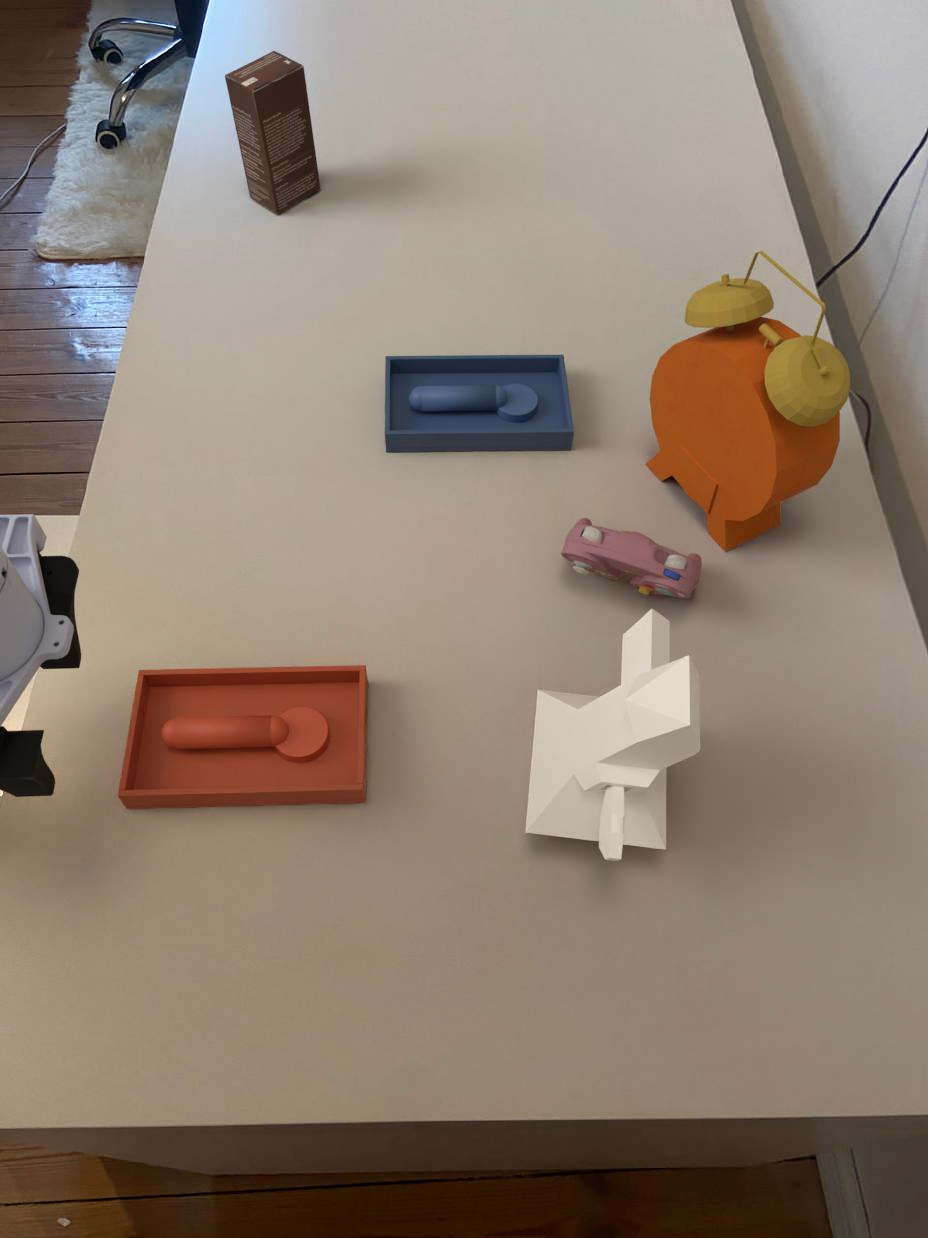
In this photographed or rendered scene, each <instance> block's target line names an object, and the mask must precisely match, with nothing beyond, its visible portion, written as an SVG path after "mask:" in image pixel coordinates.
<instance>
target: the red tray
mask: <svg viewBox="0 0 928 1238" xmlns="http://www.w3.org/2000/svg"><path fill="white" fill-rule="evenodd" d="M367 672H368V671H367V665H366V664H360V665H359V664H358V665H353V664H352V665H313V666H311V665H309V666H307V665H306V666H305V665H304V666H264V667H263V666H262V667H261V666H260V667H258V666H257V667H218V668H217V667H216V668H211V667H210V668H171V669H170V668H168V669H166V668H163V669H162V668H161V669H138V672H137V678H136V682H135V683H136V685H135V690H134V695H133V702H132V708H131V714H130V720H129V726H128V731H127V737H126V744H125V750H124V756H123V760H122V767H121V768H122V769H121V772H120V773H121V774H120V779H119V785H118V791H117V798H119V800H120V802H121V803H122V804H123V805H124V807H125V808H126V809H127V810H135V809H136V810H138V809H172V808H173V809H174V808H209V807H215V808H216V807H249V806H251V807H252V806H283V805H285V806H286V805H287V806H289V805H320V804H323V805H326V804H356V803H358V804H359V803H361V804H362V803H366V791H367V787H366V786H367V785H366V784H367V741H368V739H367V738H368V737H367V736H368V735H367V734H368V733H367V732H368V731H367V730H368V690H369V689H368V688H369V687H368V685H369V684H368V682H369V681H368V673H367ZM295 707H309V708H313V709H315V710H317V711H318V712H320V713H321V714H322V715H323V716H324V718H325V719H326V721H327V724H328V728H329V734H330V737H329V742H328V745H327V747H326V749H325V750H324V751H323V752H322V753H321V754H320V755H319V756H318V757H316V758H315V759H313V760H310V761H307V762H292V761H289V760H286V759H285V758H283V757H282V756H281V755H280V754H279V753H278V752H277V750H276V748H275V747H248V748H207V749H173V748H170V747H168V746H167V745H166V744H165V743H164V742H163V739H162V735H161V733H162V728H163V726H164V725H165V723H166V722H168V721H169V720H170V719H173V718H179V717H223V716H267V715H274V716H280V715H281V714H283V713H284V712H286V711H287V710H289V709H292V708H295Z"/></svg>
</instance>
